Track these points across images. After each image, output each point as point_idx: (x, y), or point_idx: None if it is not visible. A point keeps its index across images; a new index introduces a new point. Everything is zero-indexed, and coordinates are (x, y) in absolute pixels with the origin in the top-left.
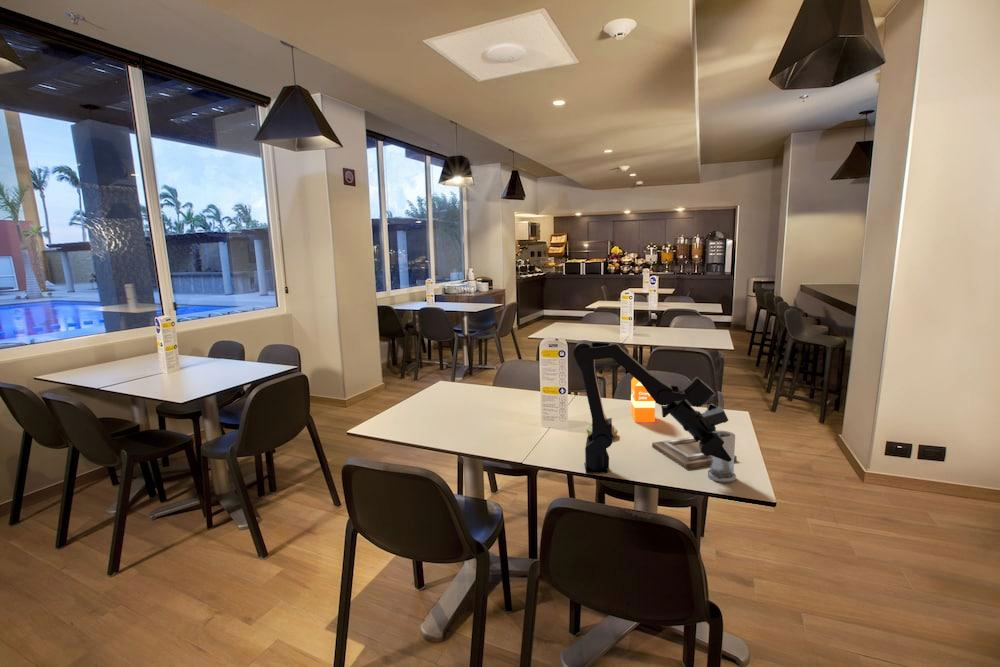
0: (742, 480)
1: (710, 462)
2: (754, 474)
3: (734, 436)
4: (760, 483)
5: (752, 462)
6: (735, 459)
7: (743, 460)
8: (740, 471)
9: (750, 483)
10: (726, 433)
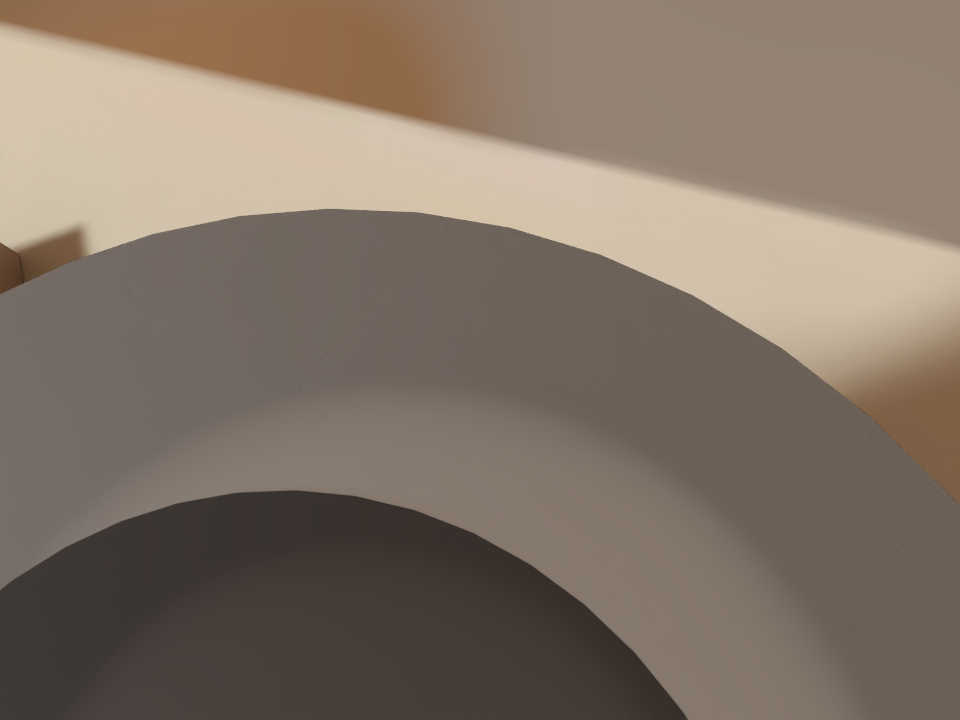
0: None
1: None
2: (439, 185)
3: (735, 346)
4: (716, 212)
5: (95, 82)
6: (6, 260)
7: (22, 164)
8: None
9: None
10: (149, 703)
